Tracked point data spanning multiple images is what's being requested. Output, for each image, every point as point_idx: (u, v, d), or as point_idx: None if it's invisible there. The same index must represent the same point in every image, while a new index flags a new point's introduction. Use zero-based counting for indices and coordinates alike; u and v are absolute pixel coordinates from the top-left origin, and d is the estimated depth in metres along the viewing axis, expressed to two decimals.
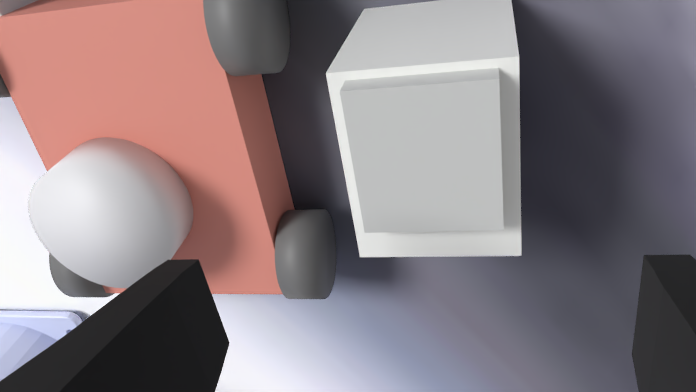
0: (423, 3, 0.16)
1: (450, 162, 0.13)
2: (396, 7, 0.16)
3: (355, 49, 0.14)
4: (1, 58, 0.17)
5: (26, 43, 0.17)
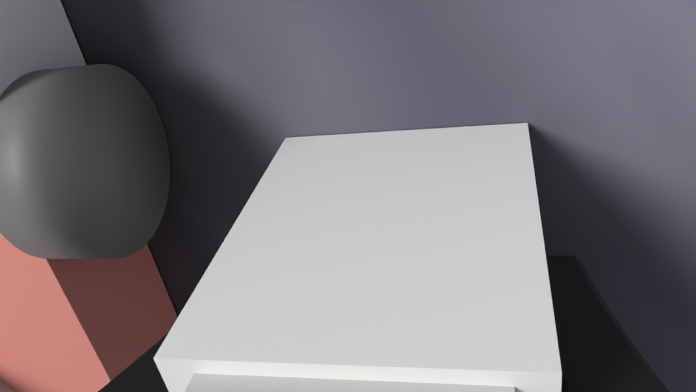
0: (380, 136, 0.10)
1: None
2: (335, 141, 0.10)
3: (235, 270, 0.07)
4: None
5: None
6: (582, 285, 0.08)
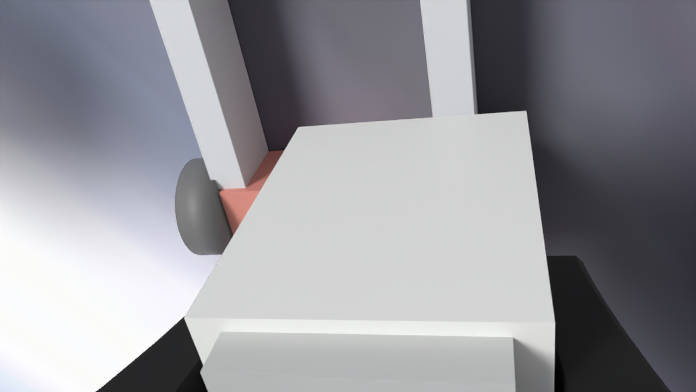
0: (388, 124, 0.10)
1: None
2: (346, 129, 0.10)
3: (256, 243, 0.08)
4: (238, 224, 0.18)
5: None
6: (583, 285, 0.08)
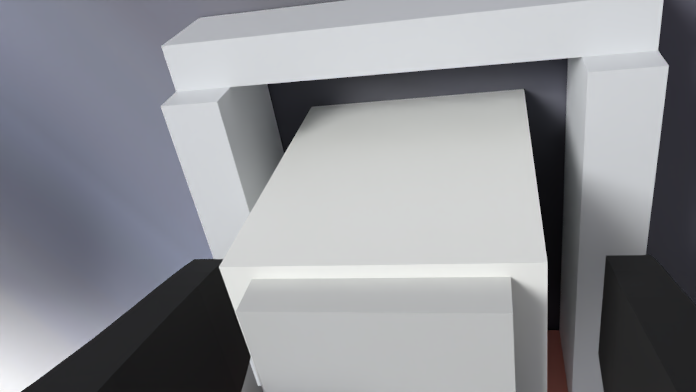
0: (396, 102, 0.11)
1: None
2: (357, 107, 0.11)
3: (280, 204, 0.09)
4: None
5: None
6: (668, 285, 0.08)
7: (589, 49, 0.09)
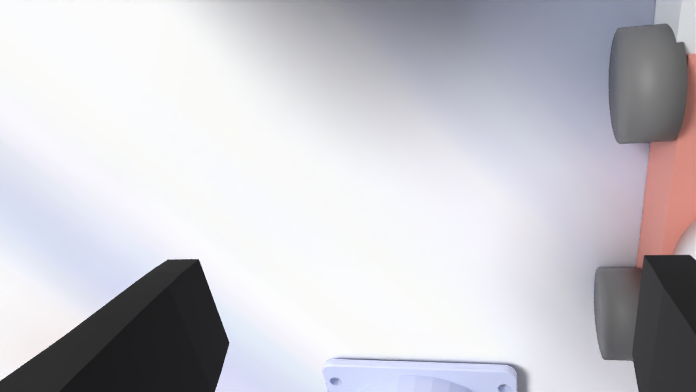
0: None
1: None
2: None
3: None
4: (695, 100, 0.15)
5: None
6: None
7: None
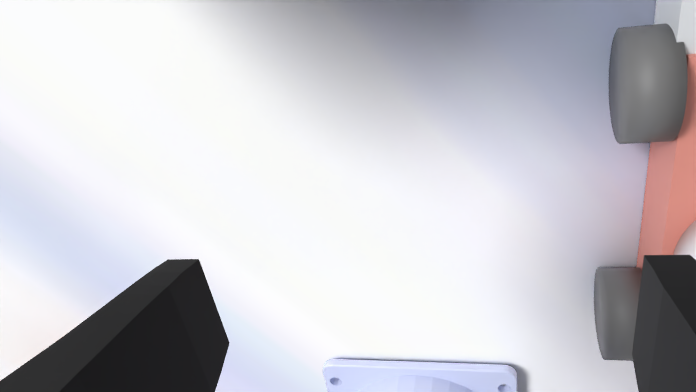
0: None
1: None
2: None
3: None
4: (695, 100, 0.15)
5: None
6: None
7: None
